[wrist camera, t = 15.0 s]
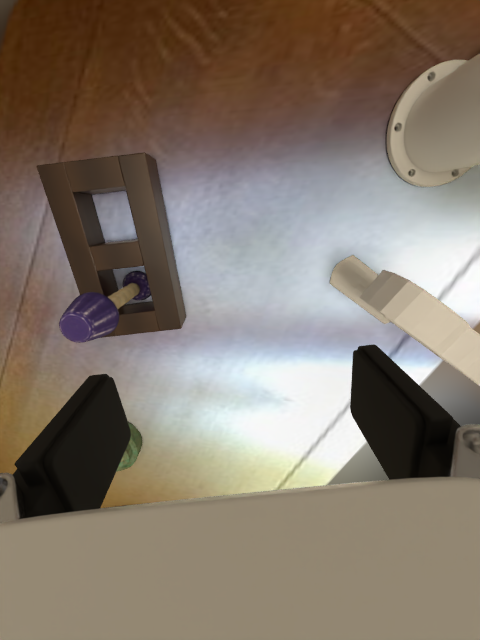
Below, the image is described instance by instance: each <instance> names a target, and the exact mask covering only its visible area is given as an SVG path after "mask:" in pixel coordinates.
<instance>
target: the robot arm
mask: <svg viewBox="0 0 480 640" xmlns="http://www.w3.org/2000/svg"><path fill="white" fill-rule="evenodd" d="M394 127H395V128H396V130H395V129H394ZM387 152H388V156H389V160H390V162H391V164H392V167H393V169H394V170H395V171H396V173H397V174H398V175H399V176H400V177H401V178H402V179H403V180H405V181H406V182H408V183H410V184H412V185H416V186H420V187H432V186H439V185H443V184H446V183H449V182H451V181H453V180H455V179H457V178H459V177H460V176H462V175H463V174H464V173H466V172H467V171H468V170H469V169H470V168H471V167H472V166H476V165H480V54H478V55H476V56H475V57H473V58H472V59H470V60H469V61H466V60H451V61H446V62H442V63H440V64H438V65H436V66H433V67H431V68H430V69H428V70H427V71H425V72H424V73H422V74H421V75H420V76H419V77H418V78H416V79H415V80H414V81H413V82H412V83H411V84H410V85H409V86H408V87H407V88H406V90H405V91H404V92H403V94H402V95H401V97H400V98H399V100H398V101H397V103H396V105H395V107H394V110H393V112H392V114H391V117H390V121H389V124H388V130H387ZM408 172H409V175H408ZM350 408H351V413H352V416H353V418H354V420H355V421H356V423H357V425H358V427H359V428H360V430H361V432H362V433H363V435H364V437H365V439H366V440H367V442H368V444H369V445H370V447H371V449H372V450H373V452H374V454H375V456H376V457H377V459H378V461H379V462H380V464H381V466H382V468H383V469H384V471H385V473H386V475H387V476H388V478H389V480H381V481H368V482H356V483H345V484H335V485H325V486H314V487H304V488H293V489H283V490H273V491H263V492H253V493H243V494H233V495H223V496H213V497H204V498H194V499H184V500H174V501H165V502H156V503H147V504H137V505H128V506H119V507H110V508H100V507H101V505H102V502H103V500H104V498H105V496H106V493H107V491H108V489H109V487H110V484H111V482H112V480H113V478H114V475H115V473H116V471H117V468H118V466H119V464H120V462H121V459H122V457H123V455H124V453H125V450H126V448H127V446H128V444H129V441H130V438H131V431H130V427H129V424H128V421H127V418H126V415H125V412H124V409H123V406H122V403H121V400H120V397H119V394H118V391H117V388H116V385H115V382H114V380H113V378H112V377H109V376H108V375H107V374H101V375H92V376H89V377H88V378H87V379H86V381H85V382H84V383H83V384H82V385H81V386H80V388H79V389H78V390H77V391H76V392H75V393H74V395H73V396H72V397H71V398H70V399H69V400H68V402H67V403H66V404H65V405H64V406H63V408H62V409H61V410H60V411H59V412H58V413H57V415H56V416H55V417H54V418H53V419H52V420H51V422H50V423H49V424H48V425H47V426H46V427H45V429H44V430H43V431H42V432H41V433H40V434H39V436H38V437H37V438H36V439H35V440H34V441H33V443H32V444H31V445H30V446H29V447H28V448H27V450H26V451H25V452H24V453H23V454H22V455H21V457H20V458H19V459H18V460H17V461H16V462H15V465H16V467H17V470H16V471H15V473H14V474H13V475H12V474H9V473H0V640H480V425H478V424H468V425H463V426H460V425H459V424H458V423H457V422H456V421H455V420H454V419H453V417H452V416H451V415H450V414H449V413H448V412H447V411H445V410H444V409H443V408H442V407H441V406H440V405H439V404H438V403H437V402H436V401H435V400H434V399H433V398H431V396H429V395H428V394H427V393H426V392H425V391H424V390H423V389H422V388H421V387H420V386H419V385H418V384H417V383H416V382H415V381H414V380H413V379H411V378H410V377H409V376H408V375H407V374H406V373H405V372H404V371H403V370H402V369H401V368H400V367H399V366H398V365H397V364H396V363H394V362H393V361H392V360H391V359H390V358H389V357H388V356H387V355H386V354H385V353H384V352H383V351H382V350H381V349H380V348H379V347H377V346H376V345H366V346H359V347H358V349H357V350H355V351H354V352H353V366H352V386H351V405H350Z"/></svg>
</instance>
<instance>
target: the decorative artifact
mask: <svg viewBox="0 0 480 640" xmlns="http://www.w3.org/2000/svg"><path fill="white" fill-rule="evenodd" d="M128 424H129V427H130V431H131V438H130V441H129V444H128V446H127V448H126V450H125V453H124V455H123V457H122V459H121V462H120V464H119V466H118V468H117V471H121V470H125V469H127V468H129V467H130V466H132V465H133V464H134V462H135V461H136V459H137V456H138V454H139V451H140V449H141V446H142V437H141V435H140V433H139V431H138V430H137V429H136V428H135V427H134V426H133V425H132V424H130V423H129V422H128Z"/></svg>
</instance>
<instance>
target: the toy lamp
mask: <svg viewBox="0 0 480 640" xmlns="http://www.w3.org/2000/svg"><path fill="white" fill-rule="evenodd" d="M150 295H151V292H150V288H149V283H148V279H147V275H146V274H145V273H143V272H140V271H133V272H130V273H128V274H127V275H126V276H125V278H124V280H123V289H120V290H118V291H117V292H115V293H113V294H112V295H111V296H108V297H106V296H105V295H103V294H100V293H97V292H88V293H84V294H81V295H80V296H78V297H77V298H76V299H75V300H74V301H73V302H72V303H71V304H70V306H69V307H68V308H67V310H66V311H65V312H64V314H63V315H62V317H61V319H60V323H59V326H60V330H61V332H62V334H63V335H64V336H65V337H66V338H67V339H69V340H71V341H73V342H79V343H81V342H87V341H90V340H94V339H97V338H100V337H103V336H106V335H108V334H110V333H111V332H112V331H114V330H115V328H116V327H117V325H118V322H119V312H118V309H119V308H120V307H121V306H123V305H124V304H125V303H127V302H129V301H130V299H134V300H144V299H146V298H148V297H149V296H150Z"/></svg>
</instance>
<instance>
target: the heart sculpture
mask: <svg viewBox="0 0 480 640" xmlns="http://www.w3.org/2000/svg"><path fill="white" fill-rule="evenodd" d="M330 284H331V285H332V286H333V287H335V288H336V289H338V290H339V291H340V292H342V293H343V294H344V295H346V296H347V297H348V298H350V299H351V300H352V301H354V302H355V303H357V304H358V305H359V306H361V307H362V308H363V309H365V310H366V311H367V312H369V313H370V314H372V315H373V316H374V317H376V318H377V319H378V320H380V321H381V322H382V323H384V324H386V323H388V322H392V323H393V324H395V325H396V326H397V327H399V328H400V329H402V330H403V331H404V332H406V333H407V334H408V335H410V336H411V337H413V338H414V339H415V340H417V341H418V342H419V343H421V344H422V345H423V346H425V347H426V348H428V349H429V350H430V351H432V352H433V353H434V354H436V355H437V356H439V357H440V358H441V359H443V360H444V361H446V362H447V363H448V364H450V365H451V366H453V367H454V368H455V369H457V370H458V371H459V372H461V373H462V374H464V375H465V376H467V377H468V378H469V379H471V380H472V381H473V382H475V383H476V384H478V385H479V386H480V334H479V333H477V332H476V331H474V330H473V329H471V328H470V327H469V324H468V323H467V322H466V321H465V320H464V319H463V318H461V317H460V316H459V315H458V314H456V313H455V312H454V311H453V310H451V309H450V308H449V307H447V306H446V305H445V304H443V303H442V302H441V301H439V300H438V299H436V298H435V297H434V296H432V295H431V294H429V293H428V292H427V291H425V290H424V289H422V288H421V287H419V286H417V285H416V284H414V283H413V282H411V281H410V280H408V279H405V278H403V277H401V276H399V275H397V274H395V273H392V272H388V271H385V270H383V271H382V272H381V273H380V274H379V275H378V274H377V273H375V272H374V271H373V270H371V269H370V268H369V267H368V266H366V265H365V264H364V263H363V262H361V261H360V260H359V259H358V258H356V257H355V256H354V255H352V256H350V257H348V258H346V259H344V260H342V261H341V262H339V263H338V264H337V265H336V266H335V268H334V270H333V272H332V275H331V279H330Z"/></svg>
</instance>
